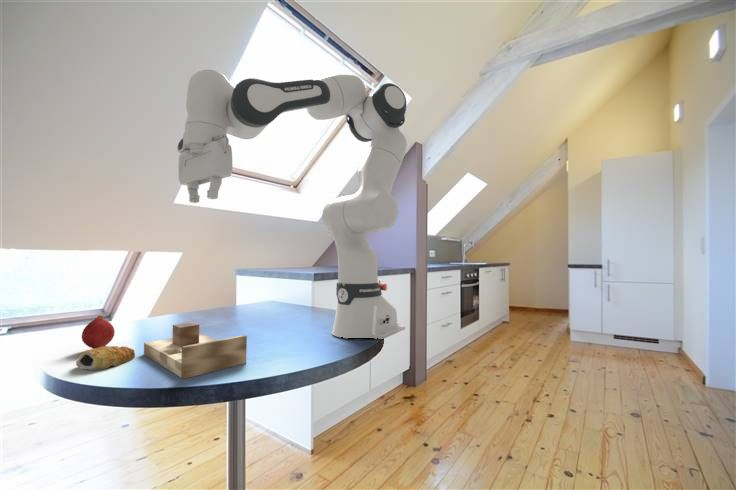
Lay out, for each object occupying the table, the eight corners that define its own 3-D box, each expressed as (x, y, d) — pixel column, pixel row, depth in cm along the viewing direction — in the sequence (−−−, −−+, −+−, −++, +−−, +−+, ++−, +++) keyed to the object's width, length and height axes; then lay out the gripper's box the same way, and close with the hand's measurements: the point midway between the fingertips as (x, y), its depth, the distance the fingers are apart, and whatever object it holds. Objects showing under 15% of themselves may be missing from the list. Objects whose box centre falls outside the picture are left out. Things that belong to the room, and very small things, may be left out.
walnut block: (191, 339, 78) (191, 322, 78) (199, 343, 76) (199, 324, 76) (172, 343, 75) (172, 324, 75) (179, 346, 73) (179, 327, 73)
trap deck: (200, 343, 84) (200, 321, 85) (246, 363, 70) (246, 335, 70) (143, 354, 75) (144, 329, 76) (183, 378, 61) (183, 347, 61)
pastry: (120, 355, 75) (121, 338, 75) (143, 359, 73) (144, 341, 73) (72, 369, 66) (72, 349, 66) (96, 374, 64) (97, 353, 64)
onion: (85, 355, 74) (86, 318, 74) (78, 350, 78) (79, 315, 78) (117, 349, 79) (118, 314, 79) (109, 345, 82) (110, 312, 82)
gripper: (241, 136, 76) (238, 198, 75) (200, 153, 89) (198, 206, 89) (213, 127, 71) (209, 193, 70) (174, 146, 84) (171, 202, 84)
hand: (202, 200), depth 80 cm, fingers open, 8 cm apart
